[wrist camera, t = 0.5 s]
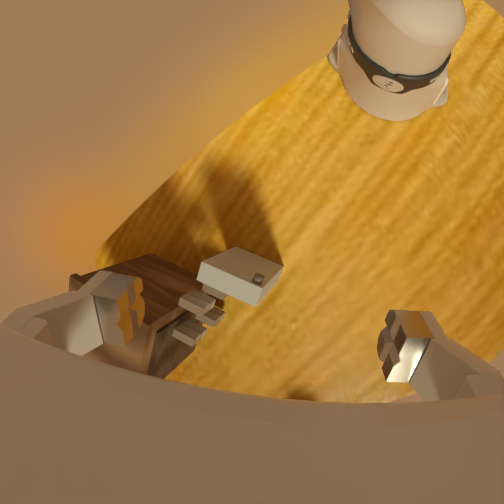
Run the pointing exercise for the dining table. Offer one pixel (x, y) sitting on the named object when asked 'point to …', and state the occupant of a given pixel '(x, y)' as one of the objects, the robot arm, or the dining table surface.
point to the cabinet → (160, 316)
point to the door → (240, 274)
